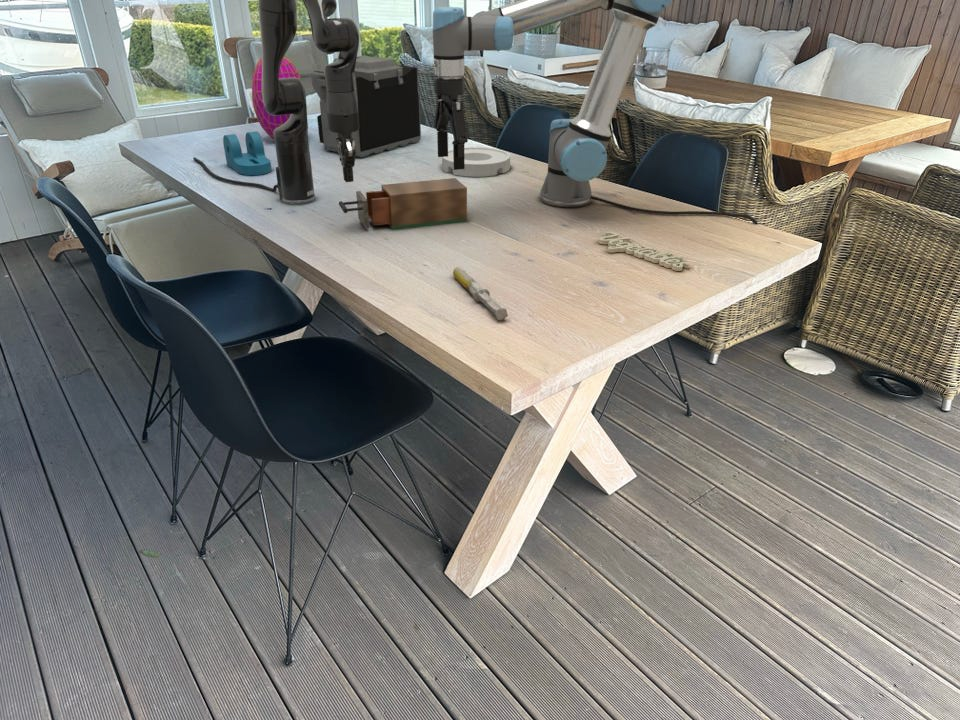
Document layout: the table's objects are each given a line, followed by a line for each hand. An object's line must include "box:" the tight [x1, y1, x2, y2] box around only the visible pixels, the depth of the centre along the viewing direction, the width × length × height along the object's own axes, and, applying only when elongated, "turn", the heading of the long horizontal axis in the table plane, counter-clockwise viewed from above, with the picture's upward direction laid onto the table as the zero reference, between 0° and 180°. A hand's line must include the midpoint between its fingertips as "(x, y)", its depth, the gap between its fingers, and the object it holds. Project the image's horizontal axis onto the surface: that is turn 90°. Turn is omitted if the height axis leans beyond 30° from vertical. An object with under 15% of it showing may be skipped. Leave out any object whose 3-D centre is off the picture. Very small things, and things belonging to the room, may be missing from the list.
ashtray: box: [441, 146, 511, 178], centre depth 232 cm, size 23×23×4 cm
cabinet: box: [380, 177, 468, 231], centre depth 185 cm, size 21×10×9 cm, turn 110°
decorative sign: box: [598, 231, 690, 272], centre depth 167 cm, size 26×1×10 cm
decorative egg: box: [251, 56, 303, 140], centre depth 257 cm, size 19×19×30 cm
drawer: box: [338, 189, 391, 229], centre depth 182 cm, size 25×8×7 cm, turn 110°
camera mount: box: [222, 131, 272, 176], centre depth 226 cm, size 18×10×10 cm, turn 35°
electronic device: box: [310, 55, 422, 159], centre depth 250 cm, size 37×22×30 cm, turn 144°
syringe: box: [452, 266, 509, 321], centre depth 145 cm, size 25×4×3 cm, turn 21°
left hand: (348, 181), depth 175 cm, fingers closed
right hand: (450, 162), depth 182 cm, fingers open, 13 cm apart
